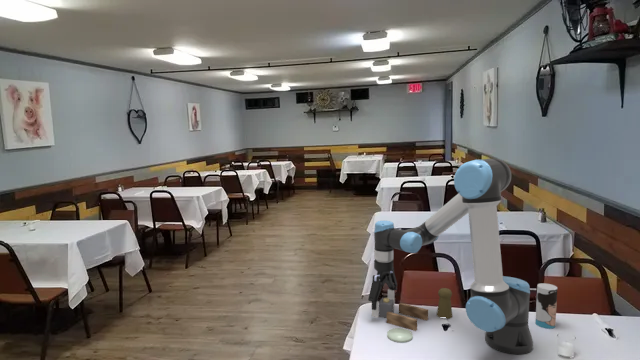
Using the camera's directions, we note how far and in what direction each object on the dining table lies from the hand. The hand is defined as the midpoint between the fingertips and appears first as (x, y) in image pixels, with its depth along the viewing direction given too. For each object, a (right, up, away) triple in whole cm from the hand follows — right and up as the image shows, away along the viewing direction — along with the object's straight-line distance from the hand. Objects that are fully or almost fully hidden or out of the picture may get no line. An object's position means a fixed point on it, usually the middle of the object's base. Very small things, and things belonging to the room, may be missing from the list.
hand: (383, 310), depth 172 cm
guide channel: (+9, -2, -6) cm, 11 cm away
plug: (+1, -2, -1) cm, 2 cm away
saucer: (+3, -4, -18) cm, 19 cm away
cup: (+60, -2, -10) cm, 61 cm away
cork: (+24, -2, -1) cm, 24 cm away
